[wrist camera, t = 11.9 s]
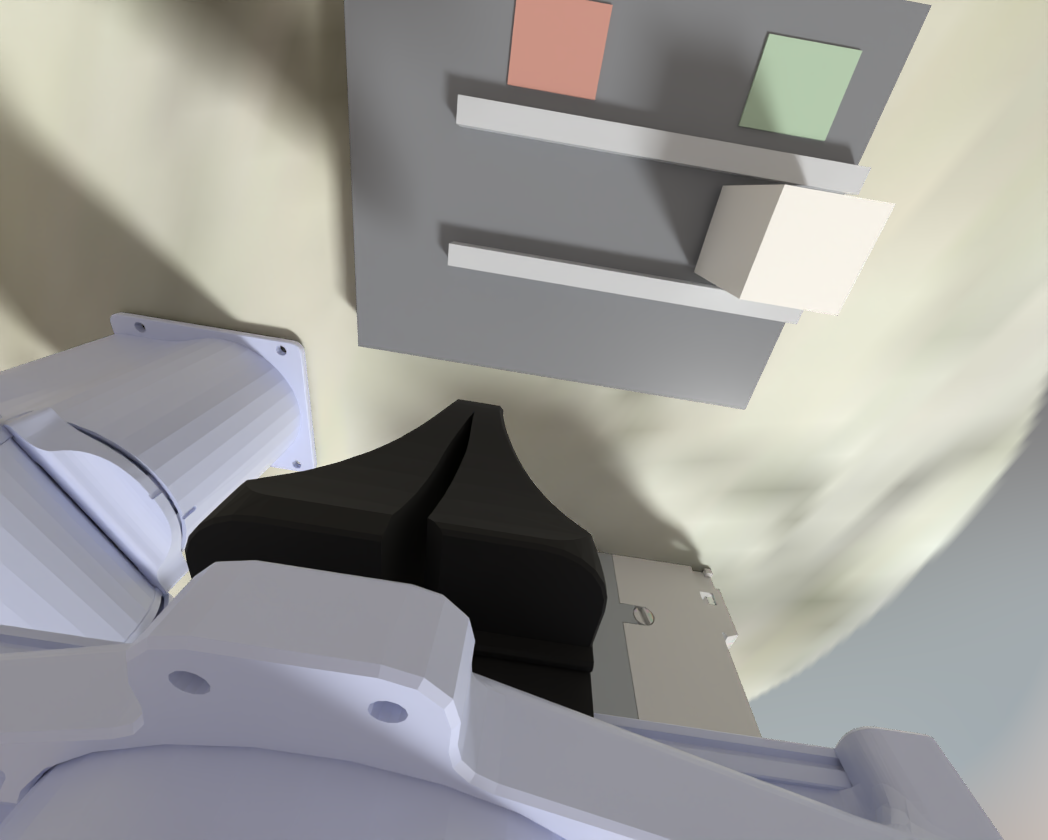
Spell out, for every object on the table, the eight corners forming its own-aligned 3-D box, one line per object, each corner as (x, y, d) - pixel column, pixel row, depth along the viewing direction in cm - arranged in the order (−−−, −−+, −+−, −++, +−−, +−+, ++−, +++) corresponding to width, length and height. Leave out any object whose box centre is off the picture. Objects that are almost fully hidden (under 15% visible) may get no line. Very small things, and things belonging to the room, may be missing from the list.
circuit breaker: (492, 536, 27) (435, 863, 14) (710, 569, 27) (857, 922, 14) (481, 611, 31) (428, 928, 18) (674, 640, 31) (764, 973, 18)
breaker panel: (374, 332, 21) (350, 351, 18) (366, -69, 14) (326, -123, 12) (729, 391, 21) (752, 417, 19) (885, 27, 15) (953, -6, 12)
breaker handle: (694, 272, 17) (738, 299, 12) (723, 185, 15) (784, 184, 11) (768, 284, 17) (837, 315, 13) (804, 199, 15) (896, 203, 11)
